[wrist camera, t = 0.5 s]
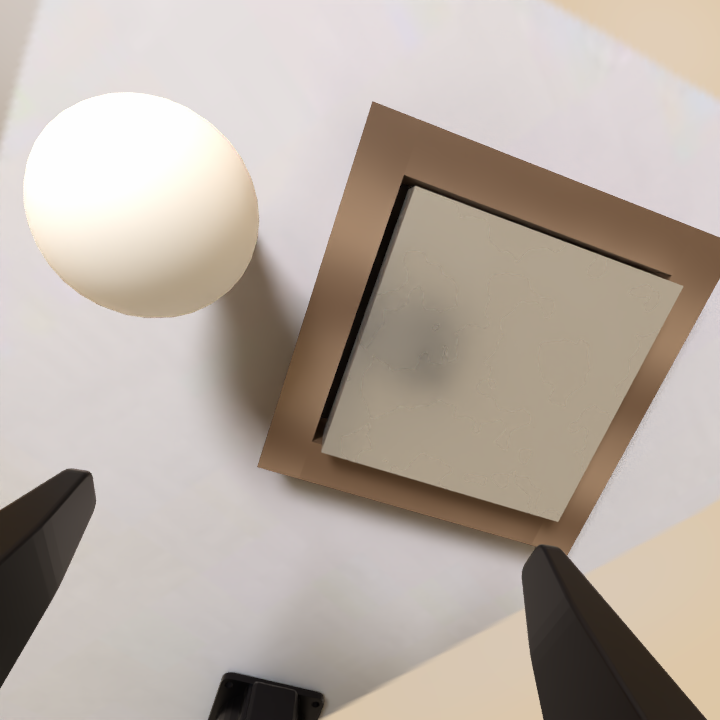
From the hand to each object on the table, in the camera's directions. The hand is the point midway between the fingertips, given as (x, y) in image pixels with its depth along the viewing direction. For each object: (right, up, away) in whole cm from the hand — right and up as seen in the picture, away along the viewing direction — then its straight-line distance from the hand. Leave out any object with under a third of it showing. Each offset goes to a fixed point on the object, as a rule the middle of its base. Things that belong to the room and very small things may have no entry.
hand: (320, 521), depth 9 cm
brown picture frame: (+6, +4, +14) cm, 16 cm away
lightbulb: (-6, +10, +12) cm, 17 cm away
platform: (+6, +3, +12) cm, 14 cm away
